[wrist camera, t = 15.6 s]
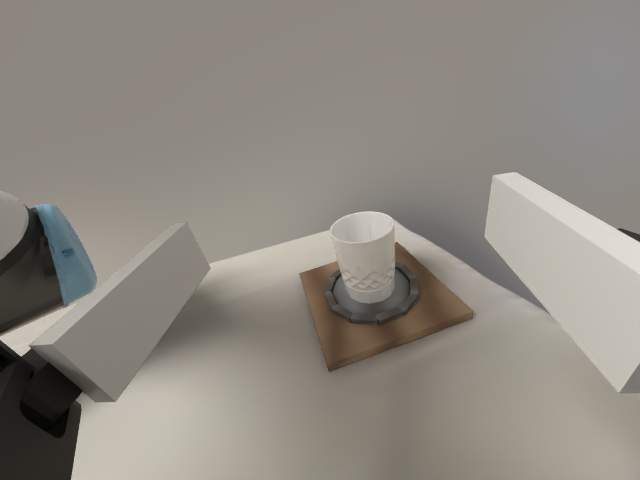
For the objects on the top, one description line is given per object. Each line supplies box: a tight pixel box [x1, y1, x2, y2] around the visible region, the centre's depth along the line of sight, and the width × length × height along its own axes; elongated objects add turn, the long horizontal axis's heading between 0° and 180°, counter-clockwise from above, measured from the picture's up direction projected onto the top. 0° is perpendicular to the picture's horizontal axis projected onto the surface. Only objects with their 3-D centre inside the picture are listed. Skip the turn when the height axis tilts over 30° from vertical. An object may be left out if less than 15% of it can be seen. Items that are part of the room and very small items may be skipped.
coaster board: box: [299, 242, 473, 371], centre depth 37 cm, size 18×18×2 cm
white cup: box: [330, 212, 395, 304], centre depth 35 cm, size 8×8×10 cm
